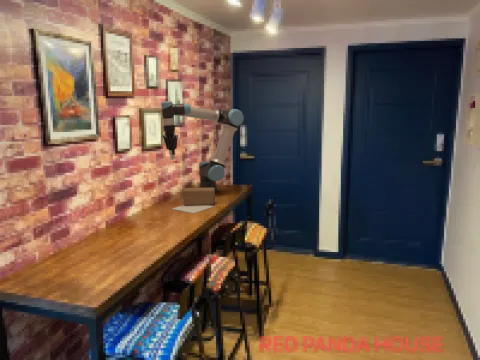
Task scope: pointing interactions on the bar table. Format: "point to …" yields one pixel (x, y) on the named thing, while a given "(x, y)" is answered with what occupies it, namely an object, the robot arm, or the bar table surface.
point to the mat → (192, 208)
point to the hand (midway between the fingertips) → (172, 159)
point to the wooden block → (198, 196)
